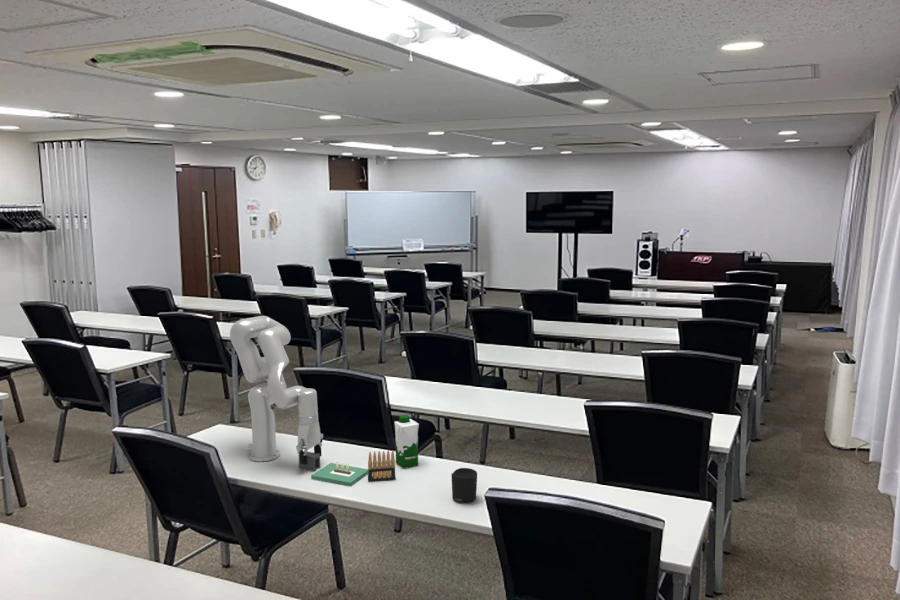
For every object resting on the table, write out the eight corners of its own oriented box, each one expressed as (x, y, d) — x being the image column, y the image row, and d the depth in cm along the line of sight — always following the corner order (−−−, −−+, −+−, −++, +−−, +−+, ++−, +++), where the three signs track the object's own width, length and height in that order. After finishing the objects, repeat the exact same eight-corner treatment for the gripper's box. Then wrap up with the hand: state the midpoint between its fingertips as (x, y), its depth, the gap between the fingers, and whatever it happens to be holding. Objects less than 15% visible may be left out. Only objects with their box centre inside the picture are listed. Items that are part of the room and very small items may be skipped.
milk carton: (411, 458, 285) (411, 413, 282) (421, 466, 277) (421, 419, 274) (392, 462, 280) (392, 416, 278) (402, 470, 273) (401, 422, 270)
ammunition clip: (395, 478, 265) (394, 448, 263) (395, 480, 263) (395, 450, 261) (367, 480, 263) (367, 450, 261) (368, 482, 261) (367, 452, 259)
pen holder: (447, 496, 249) (447, 470, 247) (470, 491, 252) (470, 466, 251) (457, 506, 240) (457, 479, 239) (481, 501, 244) (481, 475, 242)
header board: (311, 478, 264) (310, 466, 263) (331, 466, 277) (330, 453, 276) (350, 486, 257) (350, 473, 256) (369, 473, 270) (368, 460, 269)
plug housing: (299, 468, 275) (298, 454, 274) (305, 464, 278) (304, 451, 278) (314, 471, 272) (314, 457, 271) (320, 467, 275) (319, 453, 275)
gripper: (313, 412, 281) (315, 451, 283) (288, 424, 265) (290, 466, 268) (328, 414, 278) (330, 453, 280) (303, 426, 263) (306, 468, 265)
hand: (311, 460), depth 274 cm, fingers open, 9 cm apart
